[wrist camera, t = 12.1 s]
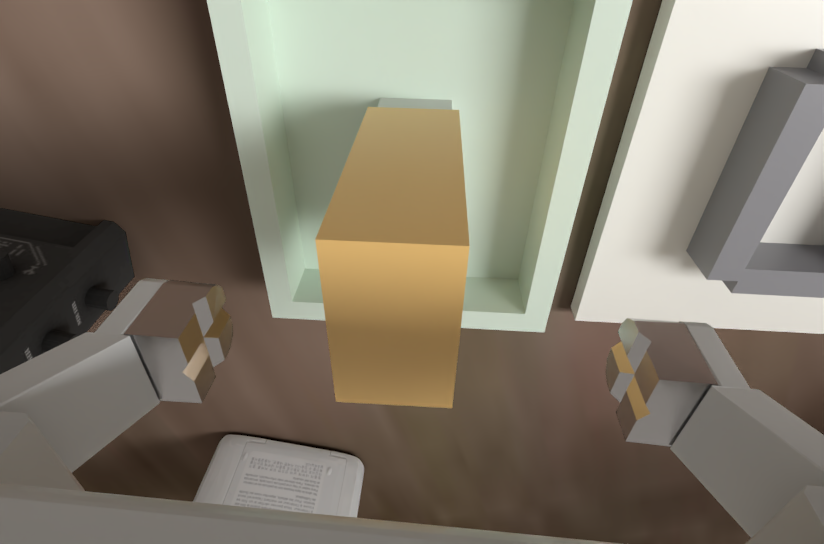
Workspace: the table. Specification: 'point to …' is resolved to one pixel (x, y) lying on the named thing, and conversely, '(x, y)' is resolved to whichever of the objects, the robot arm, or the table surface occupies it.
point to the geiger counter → (55, 281)
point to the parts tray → (422, 79)
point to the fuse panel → (718, 175)
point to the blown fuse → (397, 257)
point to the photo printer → (282, 477)
